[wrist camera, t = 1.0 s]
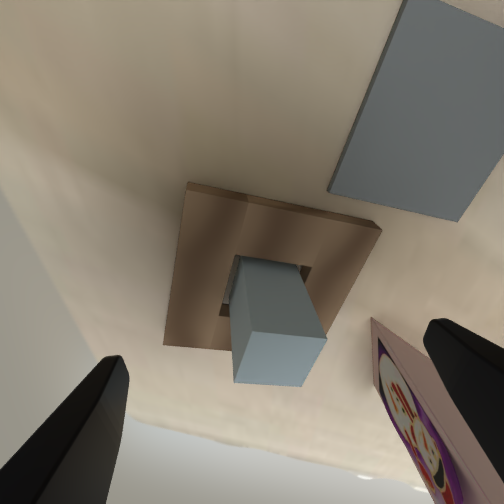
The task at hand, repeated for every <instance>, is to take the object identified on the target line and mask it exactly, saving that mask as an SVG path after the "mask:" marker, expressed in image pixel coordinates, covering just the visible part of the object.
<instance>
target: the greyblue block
mask: <svg viewBox="0 0 504 504" xmlns="http://www.w3.org/2000/svg"><path fill="white" fill-rule="evenodd" d="M229 310H230V326H231V343H232V360H233V377H234V383H246V384H262V385H279V386H295V387H302V385H303V383H304V381H305V379H306V377H307V376H308V374H309V372H310V370H311V368H312V367H313V365H314V363H315V361H316V359H317V357H318V356H319V354H320V352H321V350H322V348H323V346H324V345H325V343H326V341H327V337H326V334H325V332H324V330H323V327H322V325H321V323H320V320H319V318H318V315H317V313H316V311H315V308H314V306H313V304H312V301H311V299H310V297H309V294H308V292H307V290H306V287H305V285H304V282H303V280H302V278H301V275H300V273H299V271H298V268H297V266H296V264H291V263H285V262H278V261H272V260H266V259H260V258H254V257H248V256H242V255H241V256H240V259H239V263H238V266H237V270H236V273H235V277H234V281H233V284H232V288H231V291H230V295H229Z"/></svg>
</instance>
